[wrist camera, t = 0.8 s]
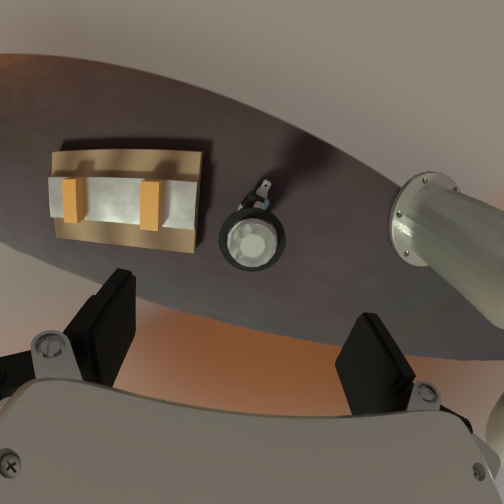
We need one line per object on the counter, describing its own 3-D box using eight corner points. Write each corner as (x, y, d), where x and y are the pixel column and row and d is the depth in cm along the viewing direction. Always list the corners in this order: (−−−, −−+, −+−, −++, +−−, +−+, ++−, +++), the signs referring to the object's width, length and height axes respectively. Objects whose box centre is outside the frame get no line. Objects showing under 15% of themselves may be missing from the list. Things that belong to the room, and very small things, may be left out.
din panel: (203, 151, 28) (201, 152, 26) (196, 248, 32) (193, 253, 31) (59, 151, 27) (52, 152, 25) (62, 233, 31) (56, 237, 29)
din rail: (198, 181, 28) (197, 182, 27) (195, 227, 29) (193, 229, 29) (52, 176, 26) (48, 177, 26) (54, 215, 28) (50, 217, 28)
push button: (245, 169, 29) (244, 183, 19) (289, 191, 30) (309, 216, 20) (218, 222, 31) (206, 260, 22) (261, 243, 32) (266, 287, 23)
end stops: (163, 179, 27) (159, 182, 25) (161, 226, 29) (157, 231, 27) (69, 177, 26) (62, 179, 25) (70, 218, 28) (64, 222, 26)
